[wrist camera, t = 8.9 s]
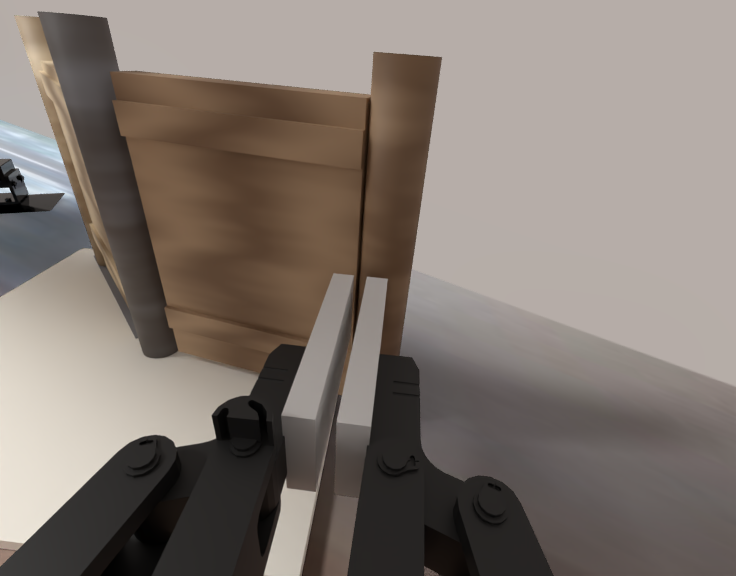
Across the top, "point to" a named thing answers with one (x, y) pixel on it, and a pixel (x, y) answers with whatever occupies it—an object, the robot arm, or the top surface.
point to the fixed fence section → (99, 160)
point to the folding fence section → (277, 199)
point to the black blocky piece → (21, 193)
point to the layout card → (103, 401)
